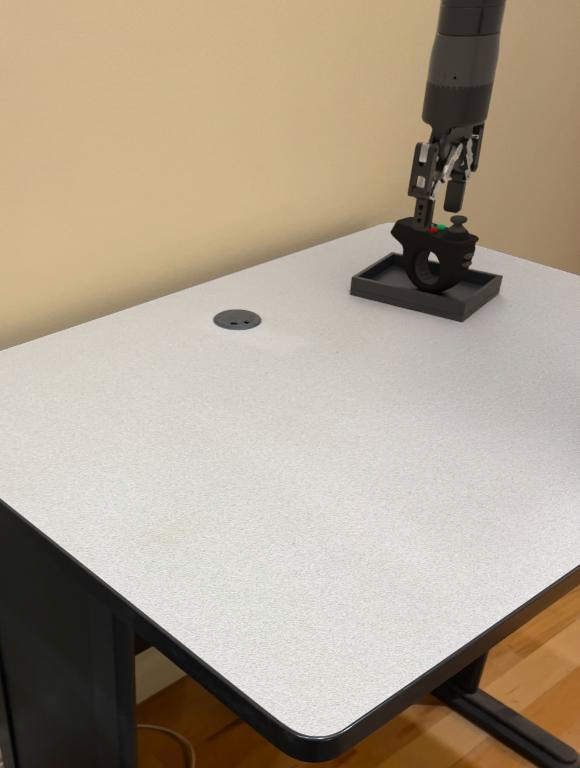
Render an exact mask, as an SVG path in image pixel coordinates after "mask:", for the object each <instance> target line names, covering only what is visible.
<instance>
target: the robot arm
mask: <svg viewBox="0 0 580 768" xmlns="http://www.w3.org/2000/svg"><path fill="white" fill-rule="evenodd" d="M506 6H507V0H440V1H439V9H438V15H437V23H436V31H435V35H434V40H433V43H432V47H431V51H430V56H429V61H428V69H427V76H426V82H425V90H424V96H423V103H422V110H421V120H422V122H423V123H424V124H426V125H429V126H430V128H431V131H430V135H429V139H428V142H423V141H417V142H416V144H415V146H414V153H413V158H412V164H411V170H410V177H409V181H408V189H407V196H408V197H412V198H414V199H415V207H414V213H413V217H414V219H413V229H414V230H418V231H423V232H426V231H428V230H430V229H431V226H432V223H433V220H434V212H435V207H436V198H437V196H438V195H439V194H438V193H439V191H440V188H441V187H442V185H443V184H445V183H446V189H445V194H444V199H443V206H442V209H443V211H444V212H446V213H451V214H452V213H453V214H458V213H459V212H461V211H462V209H463V203H464V197H465V192H466V186H467V182H468V181H469V180H470V179H471V176H472V173H476V172H477V170H478V168H479V161H480V155H481V149H482V145H483V144H482V143H483V137H484V131H485V125H486V123H485V121H487V119H488V114H489V111H490V110H489V109H490V105H491V99H492V93H493V88H494V83H495V78H496V72H497V67H498V61H499V56H500V47H501V46H500V44H501V43H500V42H501V33H502V28H503V22H504V16H505V12H506V8H507V7H506ZM448 179H449V180H448Z"/></svg>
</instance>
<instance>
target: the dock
mask: <svg viewBox="0 0 580 768" xmlns="http://www.w3.org/2000/svg"><path fill="white" fill-rule="evenodd" d="M428 265H429V270H430V272H431V274H432V275H433V276H434V277H435V278H436V279H438V278H439V275H440V264H439V261H436V260H431V259H428ZM503 277H504V275H503V274H497V273H492V272H487V271H484V270H478V269H473V268H470V267H469V268H468V271H467V273H466V274H465V276H464V278H463V279H462V280H461V281H460V282H459V283H458V284H457V285H456V286H454V287H452V288H450V289H448V290H445V291H443V292H439V293H428V292H424V291H422V290H420V289H418V288H417V287H416V286H415V285H414V284H413V283H412V282H411V281H410V279H409V278H408V276H407V274H406V272H405V269H404V265H403V253H398V252H394V251H391V252H389V253H388V254H386V255H384V256H382V257H381V258H379V260H377V261H375V262H373V263H371V264H370V265H369V266H367V267H365V268H364V269H362V270H360V271H359V272H357V273H355V274H354V275H353V276H351V280H350V290H349V295H352V296H355V297H360V298H364V299H367V300H372V301H376V302H380V303H384V304H389V305H392V306H396V307H401V308H403V309H408V310H413V311H416V312H420V313H424V314H428V315H432V316H437V317H441V318H444V319H449V320H453V321H457V322H461V323H463V322H464V321H465V320H466V319H467V320H468V318H470V316H472V315H473V314H474V313H476V312H477V311H478V310H480V309H481V308H482V307H483V306H485V305H486V304H487V303H488V302H490V301H491V300H492V299H493V298H495V297H496V296H497V295H498V294H500V290H501V286H502V282H503Z"/></svg>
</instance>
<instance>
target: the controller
mask: <svg viewBox="0 0 580 768" xmlns="http://www.w3.org/2000/svg"><path fill="white" fill-rule="evenodd" d="M413 219H414V216H407V217H403V218H400V219H398V220H396V221H395V223H394V225H393V226H392V228H391V230H390V234H391V236H392V237H393V238H394V239H395V240H396V241H397V243H399V244H400V245H401V246H402V254H403V265H404V269H405V272H406V274H407V276H408V278H409V279H410V281H411V282H412V283H413V284H414V285H415V286H416V287H417V288H418V289H420V290H422V291H424V292H428V293H439V292H443V291H445V290H448V289H450V288H452V287H454V286H456V285H457V284H458V283H459V282H460V281H461V280H462V279H463V278H464V276H465V274H466V273H467V271H468V268H469V269H470V266H472V264H473V257H474V256H475V252H476V245H477V242H479V241H480V238H479V236H477V235H476V234H473V233H470V232H469V230H468V229H467V228H466V227H465V226H464V225H463V224H466V223H467V222H468V217H467V216H465V215H462V214H461V215H460V214H457V215H452V216H450V219H449V222H450V223H452V225H450V226H446V225H445V224H442V223H440V224H438V223H434V222H432V226H431V229H430V230H428V231H426V232H423V231H418V230H414V229H413ZM431 253H432V254H433V255H434V256H435V257H436V258H437V260H438V261H437V262H439V264H440V275H439V278H438V279H436V278H435V277H434V276H433V275H432V274H431V272H430V270H429V265H428V260H429V258H430V255H431Z"/></svg>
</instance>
